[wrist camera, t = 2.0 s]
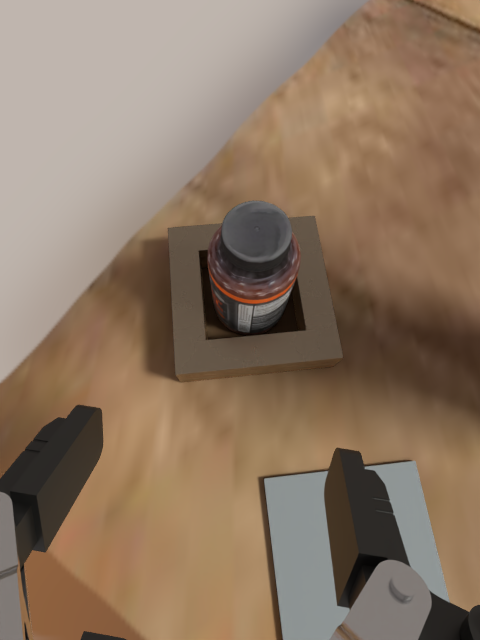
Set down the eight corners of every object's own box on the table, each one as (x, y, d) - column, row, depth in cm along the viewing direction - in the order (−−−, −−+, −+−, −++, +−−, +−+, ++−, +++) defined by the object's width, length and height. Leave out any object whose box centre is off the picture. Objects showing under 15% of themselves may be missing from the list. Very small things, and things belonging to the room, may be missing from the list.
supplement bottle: (205, 281, 32) (191, 196, 22) (271, 264, 33) (289, 173, 22) (224, 346, 30) (219, 288, 20) (294, 326, 31) (326, 260, 20)
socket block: (307, 235, 34) (314, 215, 31) (333, 366, 30) (343, 357, 27) (173, 247, 33) (167, 227, 30) (181, 382, 29) (175, 374, 26)
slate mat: (412, 460, 28) (415, 460, 27) (457, 644, 24) (460, 647, 24) (263, 478, 27) (264, 478, 27) (286, 668, 24) (287, 672, 23)
